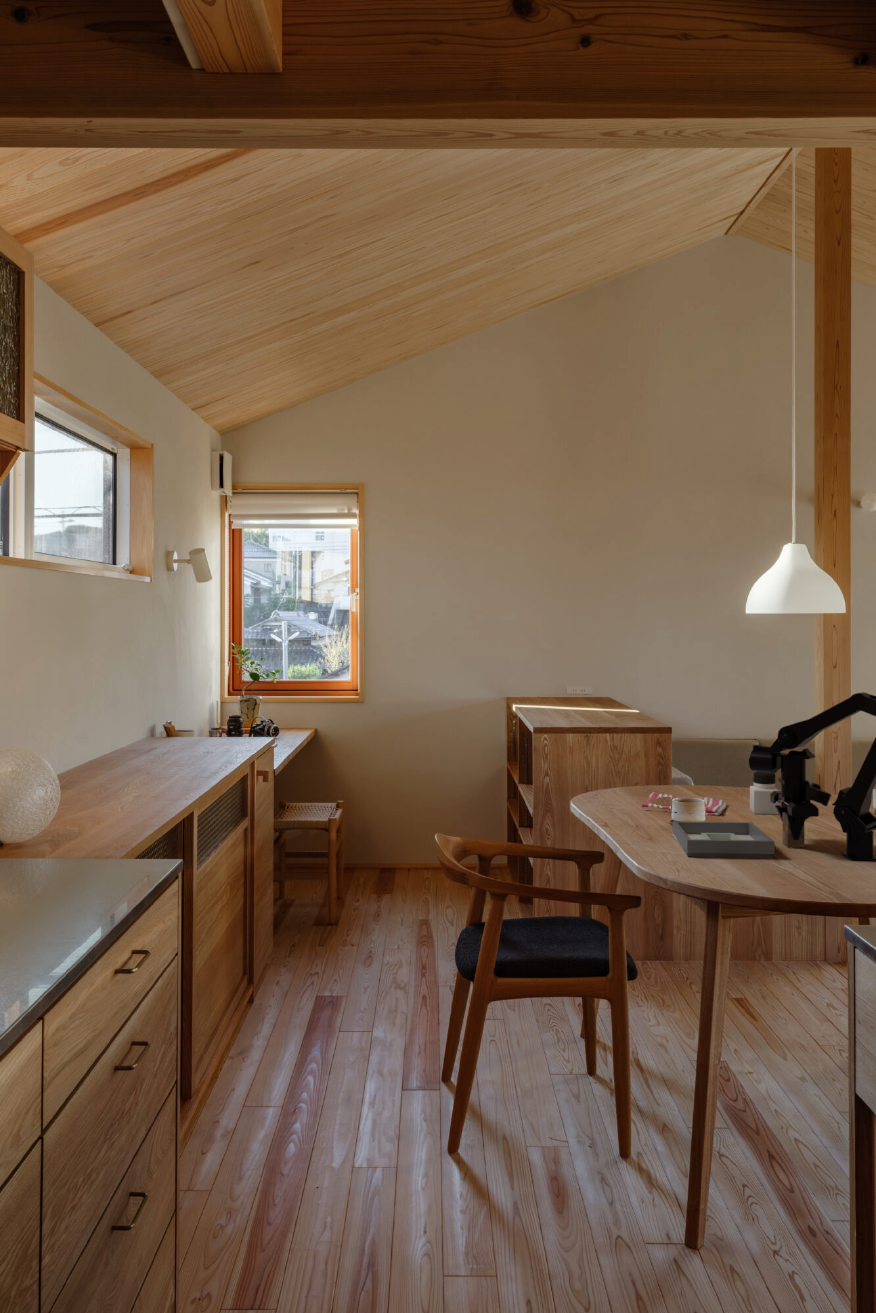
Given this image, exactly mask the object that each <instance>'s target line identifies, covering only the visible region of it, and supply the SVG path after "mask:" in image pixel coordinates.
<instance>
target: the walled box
mask: <svg viewBox="0 0 876 1313" xmlns="http://www.w3.org/2000/svg"><path fill="white" fill-rule="evenodd" d="M673 836H674V838H675V839H676V841H677V842H678V843H679V845H680V846H681V847H682V849H683V850H682V849H681V850H682V852H683V851H684V852H685V853H686V854H685V853H684V852H683V853H684V854H685V856H686V855H687V856H690V857H689V858H729V859H731V858H735V859H737V858H740V859H775V840H773V838H771V837H770V836H769V835H768V834H766V833H765V832H764V831H763V830H761V829H760V828H759V827H758V826H757V825H756V824H754V823H753V822H751V821H749V822H747V821H745V822H744V821H741V822H740V821H672V837H673ZM674 838H673V839H674ZM675 839H674V840H675ZM676 841H675V842H676ZM677 842H676V843H677ZM678 843H677V844H678ZM679 845H678V846H679ZM680 846H679V847H680ZM681 847H680V848H681ZM687 856H686V857H687ZM691 856H692V857H691Z"/></svg>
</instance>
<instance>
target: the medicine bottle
mask: <svg viewBox="0 0 876 1313" xmlns="http://www.w3.org/2000/svg"><path fill="white" fill-rule="evenodd" d="M752 777H753V778H752V779H753V782H752V783H753V785H750V786H749V809H750V811H751V812H752V813H753V814H754V815H773V816H775V815H777V816H779V814H778V811H777V809H776V808H775V805H778V801H776V803H772V802H771V801H770V794H771V793H772V792H773V791H780V790H779V789H778V788H777V787H776V773H768V772H759V771H753V776H752Z"/></svg>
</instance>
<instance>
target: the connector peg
mask: <svg viewBox="0 0 876 1313" xmlns="http://www.w3.org/2000/svg"><path fill="white" fill-rule="evenodd" d="M782 845H783V846H785V848H787V847H788V849H797V848H796V847H799V848H798V849H805V824H804V825H803V828H802V831H801V834H800V837H799V840H794V839H793V836H792V833H791V831H790V828H789V825H788V822H787V819H786V816H785V813H784V812H783V822H782ZM790 847H792V848H790ZM793 847H794V848H793ZM800 847H802V848H800Z"/></svg>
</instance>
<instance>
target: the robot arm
mask: <svg viewBox="0 0 876 1313" xmlns="http://www.w3.org/2000/svg"><path fill="white" fill-rule="evenodd" d="M859 712H863V713H866V714H868V715H870V716H873V717H876V695H873V694H870V693H868V692H856V693H854V694H852V695H851V696H849V697H848V698H846V699H844V700H843V701H841V702H839V703H837V704H835V705H833V706H831V707H829V708H828V709H825V710H824V711H821V712H820V713H818V714H816V715H814V716H812V717H811V718H809V719H805V720H801V721H797V722H794V723H791V724H788V725H786V726H783V727H781V728H780V729H779V730H778V732H777V738H776V739H775V741H773V743H772V744H771V745H762V744H753V745H752V750H751V752H750V754H749V758H748V765H749V766H748V767H749V769H750V770H751V771H753V772H757V771H759V772H768V773H774V774H776V773H777V772H778V771H779V770H780V777H778V783H780V790H779V791H773V792H772V793H771V794H770V801H771V802H772V803H776V801H778V805H775V808H776V809H777V811H778V814H779V815H778V816H779V818H780V820H781V822H782V823H783V812H784V813H785V816H786V819H787V822H788V825H789V828H790V831H791V833H792V836H793V839H794V840H799V837H800V834H801V831H802V828H803V825H804V826H805V822H806V820H807V819H809V818H811V817H812V818H814V817H819V812H820V810H819V809H820V808H819V807H818V806H817V805H816V804H814V803H813V802H816V803H818V804H821V805H822V806H823V807H828V805H829V802H830V800H831V797H832V794H831V793H829V792H827V791H825V790H824V789H822V788H821V785H819V784H818V783H816V782H811V783H810V782H809V780H807V761H806V760H811V759H815V758H816V755H815V754H814V753H813V752H811V751H810V749H809V748H808V747H806V748H803V749H802V750H794V749H798V748H801V747H804V746H806V745H807V744H808V743H810V742H811V741H813V739H815V738H816V737H817V736H818V735H819V734H820V733H822V732H823V731H824V730H827V729H828V728H831V727H832V726H834V725H836V724H838V723H841V722H842V721H844V720H846V719H848V718H849V717H852V716H854V715H856V714H858V713H859ZM788 750H789V751H788ZM783 751H788V753H785V752H783ZM875 787H876V737H874V740H873V742H872V744H871V746H870V748H869V750H868V752H867V754H866V756H865V758H864V761H863V762H862V764H861V767H860V769H859V771H858V773H857V775H856V777H855V779H854V782H853V784H852V785H851V787H849V786H847V787H846V788H842V789H840V790H839V792H838V793H837V796H836V800H835V801H834V802H833V803H832V804H831V805H832V806H834V807H833V811H832V813H833V816H834V818H835V819H836V820H837V823H839V825H840V828H841V830H842V833H843V834H846V838H845V840H846V842H845V843H846V844H845V845H846V850H840V853H841V854H842V855H843V856H844V857H846V858H847V859H849V860H851V861H876V855H875V853H874V843H875V842H874V841H875V840H874V839H875V838H874V836H875V835H874V831H876V816H875V815H873V814H872V812H871V811H870V808H871V805H872V798H873V797H872V795H873V790H874V788H875ZM812 801H813V802H812Z"/></svg>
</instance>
